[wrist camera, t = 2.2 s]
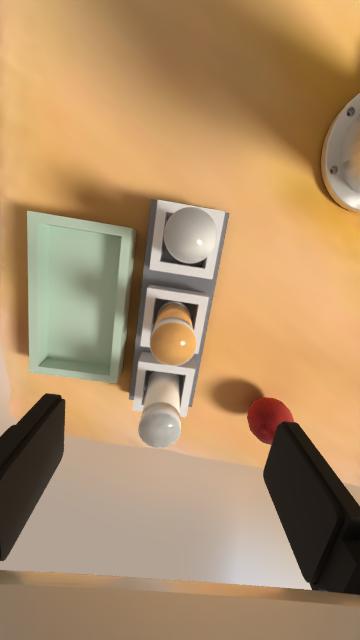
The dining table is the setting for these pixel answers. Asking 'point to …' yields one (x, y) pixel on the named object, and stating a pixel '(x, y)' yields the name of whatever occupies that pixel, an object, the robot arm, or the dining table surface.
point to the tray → (78, 296)
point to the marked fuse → (173, 334)
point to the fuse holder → (177, 285)
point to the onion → (267, 418)
